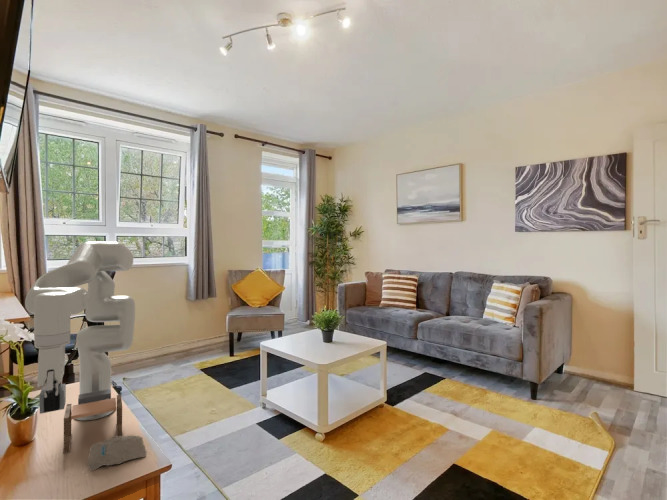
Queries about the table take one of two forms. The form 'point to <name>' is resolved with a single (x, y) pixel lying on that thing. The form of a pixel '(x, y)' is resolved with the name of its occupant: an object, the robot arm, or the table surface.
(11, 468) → the table surface
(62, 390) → the slate block
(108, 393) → the trapdoor
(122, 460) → the concrete fragment
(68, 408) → the frame
